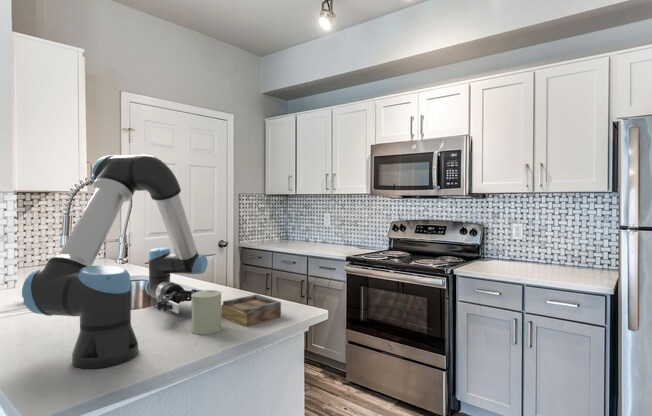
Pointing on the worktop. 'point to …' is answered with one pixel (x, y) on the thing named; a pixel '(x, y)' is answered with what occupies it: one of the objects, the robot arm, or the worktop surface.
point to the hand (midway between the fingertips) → (198, 304)
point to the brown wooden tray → (251, 309)
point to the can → (206, 312)
